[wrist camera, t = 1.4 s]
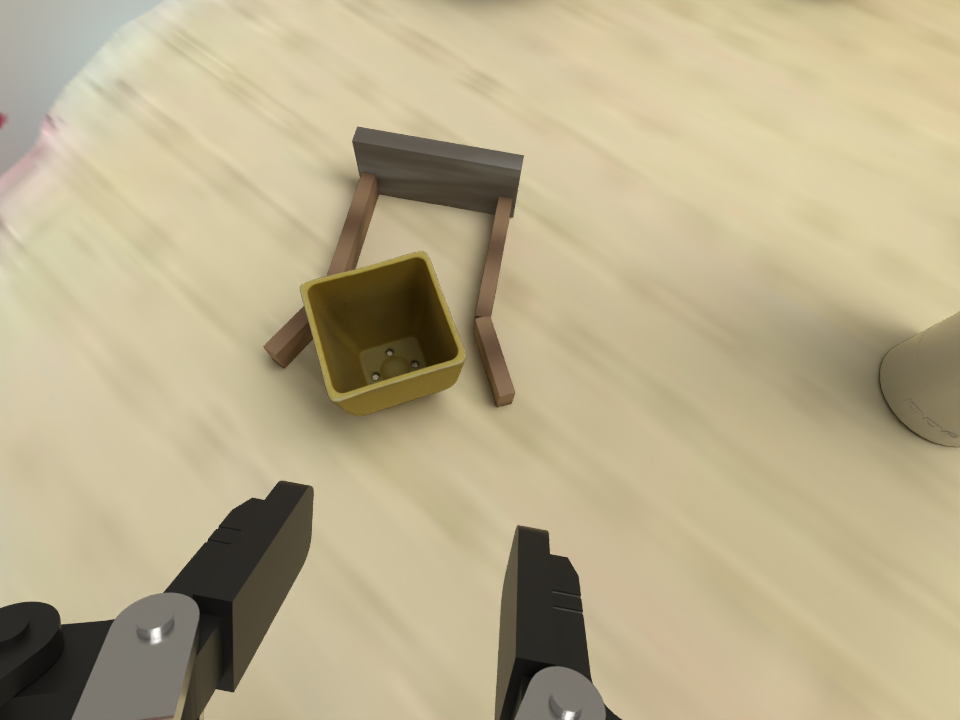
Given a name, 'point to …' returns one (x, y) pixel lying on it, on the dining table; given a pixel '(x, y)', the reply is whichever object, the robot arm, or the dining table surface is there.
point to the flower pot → (383, 333)
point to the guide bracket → (432, 179)
